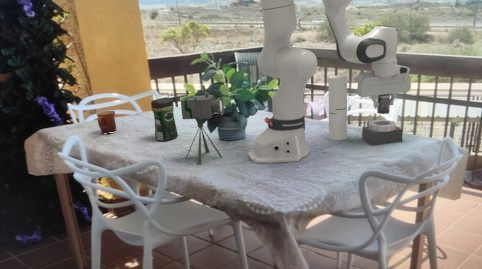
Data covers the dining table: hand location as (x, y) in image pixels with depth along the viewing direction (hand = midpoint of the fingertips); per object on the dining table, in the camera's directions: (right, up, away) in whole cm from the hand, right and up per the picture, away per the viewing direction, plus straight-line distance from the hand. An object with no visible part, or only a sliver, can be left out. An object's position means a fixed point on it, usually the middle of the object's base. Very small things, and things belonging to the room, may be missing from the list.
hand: (383, 105), depth 154 cm
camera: (-68, -20, -2) cm, 71 cm away
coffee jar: (-88, -13, +27) cm, 93 cm away
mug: (-120, -11, +43) cm, 128 cm away
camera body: (+1, -13, +4) cm, 14 cm away
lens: (0, -2, +1) cm, 3 cm away
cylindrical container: (-15, -12, +11) cm, 22 cm away
